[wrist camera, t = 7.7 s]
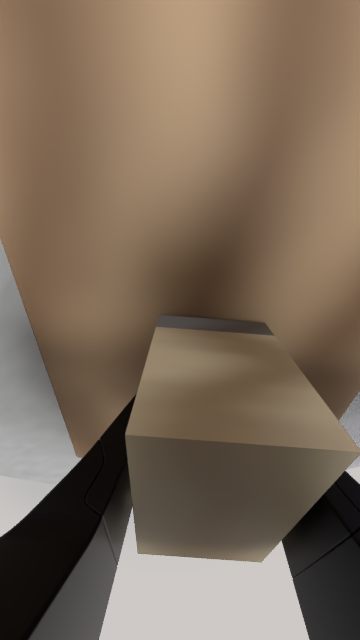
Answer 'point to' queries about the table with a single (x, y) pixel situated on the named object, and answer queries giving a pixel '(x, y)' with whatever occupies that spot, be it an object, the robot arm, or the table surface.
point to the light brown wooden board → (180, 184)
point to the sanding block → (226, 442)
